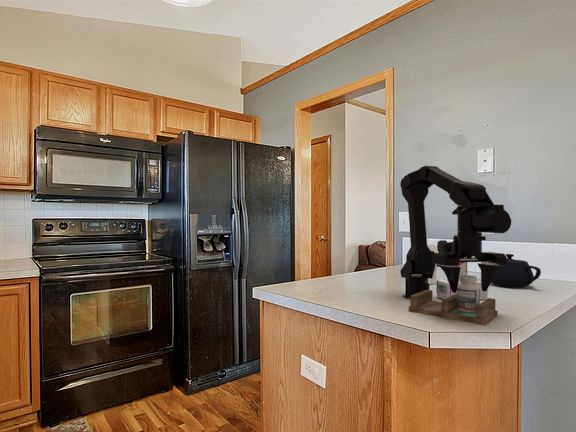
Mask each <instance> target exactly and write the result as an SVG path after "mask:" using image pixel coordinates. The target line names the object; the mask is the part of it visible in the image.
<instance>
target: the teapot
mask: <svg viewBox="0 0 576 432" xmlns="http://www.w3.org/2000/svg"><path fill="white" fill-rule="evenodd" d="M504 254H505V255H506V257H507V264H505V265H501V266H503V268H500V270H499V271H498V273H497V274H496V275H495V277H494V279H493V280H492V282H491V284H493V285H495V286H499V287H505V288H521V289H522V288H528V286H530V285H532V284H533V283H534V282H535V281H536V280H537V279H539V277H541V273H542V270H541V268H539V267H538V266H534V265H530V264H529V262H528V260H527V261H526V260H520V259H514V258H513V257H514V254H513V253H504ZM532 269H533V270H535V274H534V272H533V270H532Z"/></svg>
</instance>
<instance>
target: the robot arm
mask: <svg viewBox="0 0 576 432" xmlns="http://www.w3.org/2000/svg"><path fill="white" fill-rule="evenodd" d="M432 186H436V187H437V188H439V189H441V190H443V191H445V192H446V193H447V194H448V197H449V199H450V200H451V201H452V202H453V203H454V204H455V205H456V206H457V207H456V208H455V209H453V211H452V212H451V214H452V215H456V216H457V231H456V232H457V235H455V234H454V236H453V238H452V239H453V240H452V241H449V242H448V241H447V240H445V239H443V240H442V239H441V240H438V241H437V244H436V245H437V250H438V252H439V253H434V251H430V249H429V248H428V246H427V244H428V238H427V226H426V211H425V200H426V199H427V197H428V195H429V189H430V188H431V187H432ZM400 189H401V195H402V197H403V198H404V200H405V201H406V203H407V209H408V223H409V225H408V226H409V236H410V237H409V238H410V239H409V240H410V248H409V250H408V251H407V254H406V257H405V259H406V261H405V263H404V265H403V266H402V267H401V269H400V277H401V278H403V279H405V280H404V281H405V282H404V284H405V288H404V289H405V290H404V292H405V294H403V295H402V297H404V298H409V299H411V295H414V294H417V293H420V292H422V291H425V290H431V289H430V285H431V284H429V283H428V278H430V279H432V277H433V273H434V270H435V264H436V265H437V268H440V269H441V270H442V272H444V275H445V277H446V280H448V282H449V285H450V288H451V290H452V292H453V293H456V291H457V288H458V281H459V274H460V268H461V267H457V265H458V264H459V263H460V262H467V263H477V266H478V268H479V270H480V280H481V287H482V291H484V292H486V291H487V289H488V290H489V287H490V285H491V284H492V280H493V279H494V277H495V275H496V274H497V273H498V271H499V270H500V268H503V266H501V265H505V264H507V258H508V257H507V256H506V255H505V254H506V253H502V252H492V251H483V241H486V238H487V237H486V236H485V235H484V236H483V233H487V234H489V233H490V234H505V233H506V232H508V231H509V230H510V228H511V226H512V218H511V215H510V214H509V212H508V211H507V210H505V205H504V204H494V202H493V200H492V199H491V197H490V195H489V193H488V192H487V191H486V190H487V188H486V187H485V186H484V185H483V184H480V183H477V182H472V181H465V180H461V179H460V178H458V177H455V176H453V175H452V174H450V173H448V172H446V171H444V170H442V169H441V168H439V167H438V166H435V165H423V166H422V167H420V168H419V169H417V170H414V171H412V172H409V173H407V174H406V175H404V177H402V178H401V181H400ZM417 274H419V275H417Z"/></svg>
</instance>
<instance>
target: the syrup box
mask: <svg viewBox="0 0 576 432" xmlns="http://www.w3.org/2000/svg"><path fill="white" fill-rule="evenodd" d="M460 283H461V282H460V279H459V281H458V284H460ZM476 285H478V286H479V288H480V301H483V300H484V301H485V300H487V299H488V298H489V295H488V293H489V292H488V291H489V288H488V289H487V291H486V292H484V291H482V287H481V279H477V283H476ZM435 289H436V298H439V299H440V300H444V299H446V298H448V297H450V296H452V295H455V294H457V291H456V293H453V292H452V290H451V288H450V285H449V282H448V279H437V283H436V288H435Z"/></svg>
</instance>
